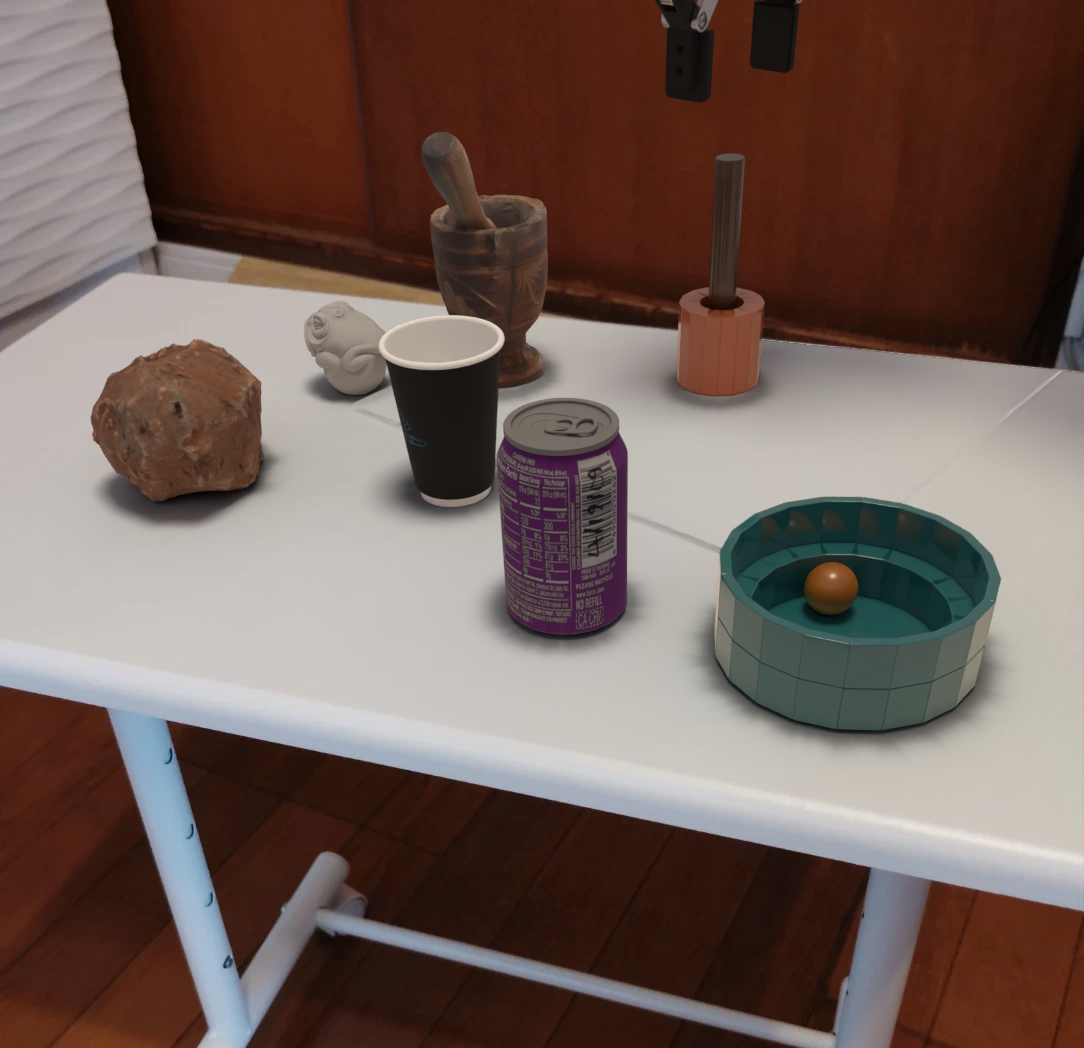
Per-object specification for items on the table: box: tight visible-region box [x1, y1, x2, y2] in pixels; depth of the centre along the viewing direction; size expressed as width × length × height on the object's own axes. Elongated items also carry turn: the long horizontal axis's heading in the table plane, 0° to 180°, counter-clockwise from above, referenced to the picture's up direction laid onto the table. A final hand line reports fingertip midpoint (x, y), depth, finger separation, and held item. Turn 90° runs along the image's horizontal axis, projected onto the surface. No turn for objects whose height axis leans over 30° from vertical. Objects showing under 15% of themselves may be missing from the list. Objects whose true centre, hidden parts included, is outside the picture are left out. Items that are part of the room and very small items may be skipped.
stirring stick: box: [708, 153, 746, 310], centre depth 87 cm, size 2×2×16 cm
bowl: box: [713, 496, 1002, 731], centre depth 64 cm, size 14×14×6 cm
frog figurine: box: [303, 300, 387, 396], centre depth 93 cm, size 6×7×7 cm
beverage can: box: [496, 397, 629, 635], centre depth 66 cm, size 7×7×12 cm
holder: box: [676, 286, 766, 397], centre depth 90 cm, size 6×6×7 cm
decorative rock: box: [90, 338, 265, 502], centre depth 81 cm, size 13×11×10 cm
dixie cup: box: [379, 314, 505, 508], centre depth 78 cm, size 8×8×11 cm
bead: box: [804, 562, 858, 615], centre depth 67 cm, size 3×3×3 cm
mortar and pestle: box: [421, 131, 549, 390], centre depth 88 cm, size 12×9×20 cm
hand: (730, 83), depth 79 cm, fingers open, 9 cm apart
